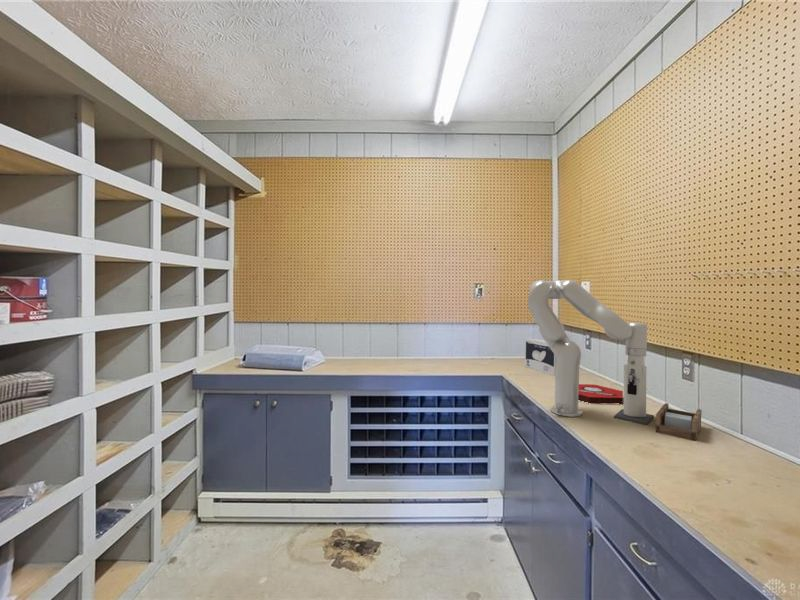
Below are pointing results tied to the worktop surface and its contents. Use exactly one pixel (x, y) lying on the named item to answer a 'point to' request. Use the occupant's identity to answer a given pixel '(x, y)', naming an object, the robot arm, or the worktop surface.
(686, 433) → the rack
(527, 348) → the packaging
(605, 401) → the plaque
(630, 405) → the paper towel roll
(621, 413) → the mat
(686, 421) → the offcut block
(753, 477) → the worktop surface
